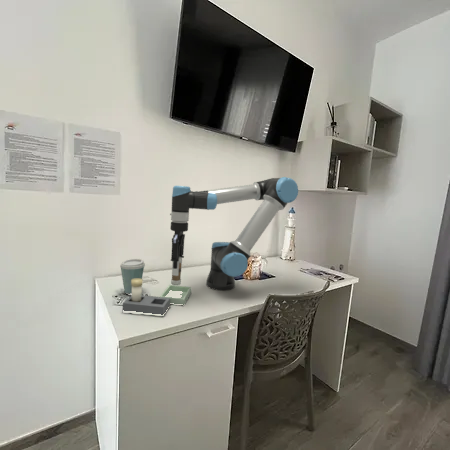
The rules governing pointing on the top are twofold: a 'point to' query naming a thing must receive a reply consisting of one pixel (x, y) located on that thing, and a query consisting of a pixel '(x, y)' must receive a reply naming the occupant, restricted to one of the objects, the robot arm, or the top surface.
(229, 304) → the top surface
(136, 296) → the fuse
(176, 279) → the cylinder
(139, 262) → the disposable coffee cup
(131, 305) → the grey rectangular block
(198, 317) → the top surface
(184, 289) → the parts tray
